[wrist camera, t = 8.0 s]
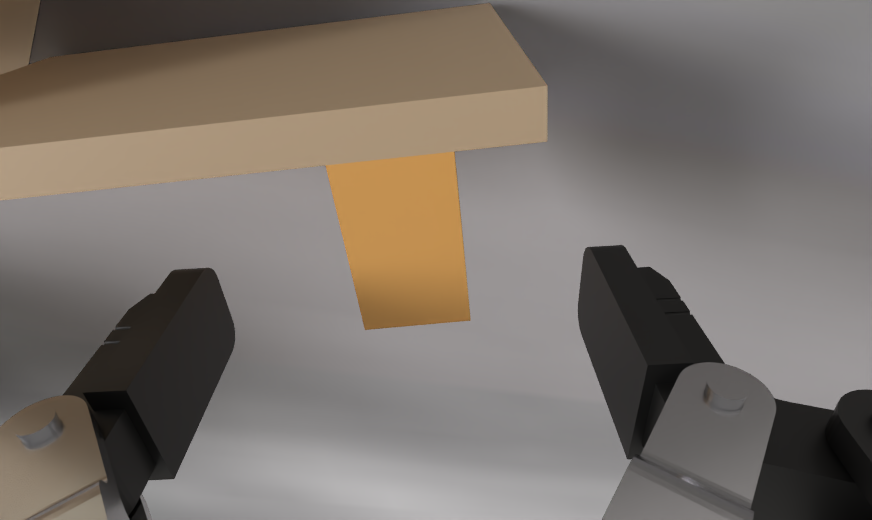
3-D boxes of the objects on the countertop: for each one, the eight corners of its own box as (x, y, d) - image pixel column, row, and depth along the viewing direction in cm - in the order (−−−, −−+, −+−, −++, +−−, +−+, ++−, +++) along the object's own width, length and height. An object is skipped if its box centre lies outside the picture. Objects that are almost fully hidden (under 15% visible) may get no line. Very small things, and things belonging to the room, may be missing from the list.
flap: (50, 56, 19) (-307, 182, 10) (489, 2, 18) (547, 85, 9) (111, 182, 22) (-126, 373, 13) (496, 140, 21) (546, 313, 12)
